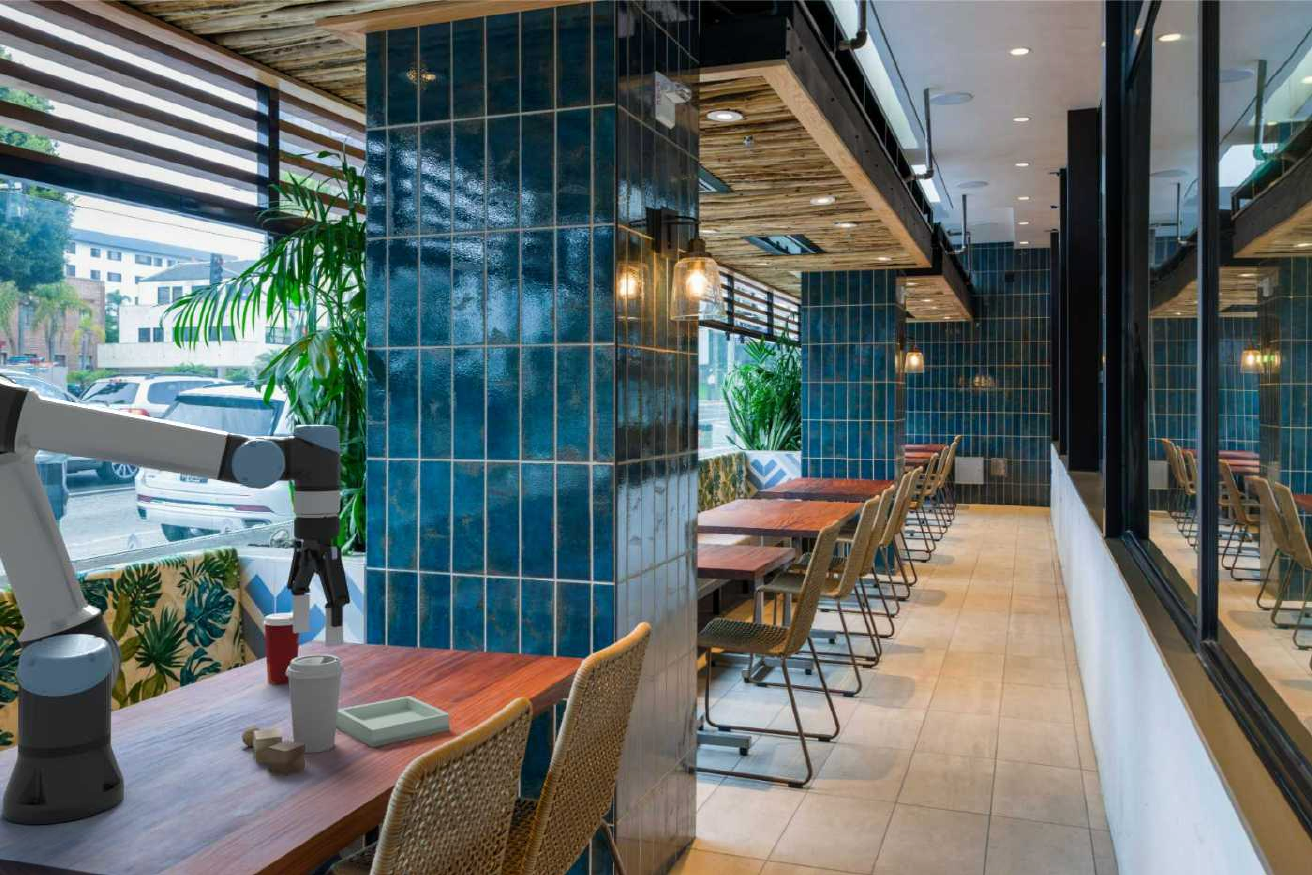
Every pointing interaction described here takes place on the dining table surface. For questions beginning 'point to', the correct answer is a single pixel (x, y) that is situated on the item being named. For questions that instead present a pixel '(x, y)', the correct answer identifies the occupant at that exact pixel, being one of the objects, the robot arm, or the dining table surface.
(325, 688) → the coffee cup
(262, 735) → the beech block
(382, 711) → the tray
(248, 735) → the cork ball
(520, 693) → the dining table surface
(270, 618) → the paper cup
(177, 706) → the dining table surface
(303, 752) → the walnut block
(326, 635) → the robot arm
